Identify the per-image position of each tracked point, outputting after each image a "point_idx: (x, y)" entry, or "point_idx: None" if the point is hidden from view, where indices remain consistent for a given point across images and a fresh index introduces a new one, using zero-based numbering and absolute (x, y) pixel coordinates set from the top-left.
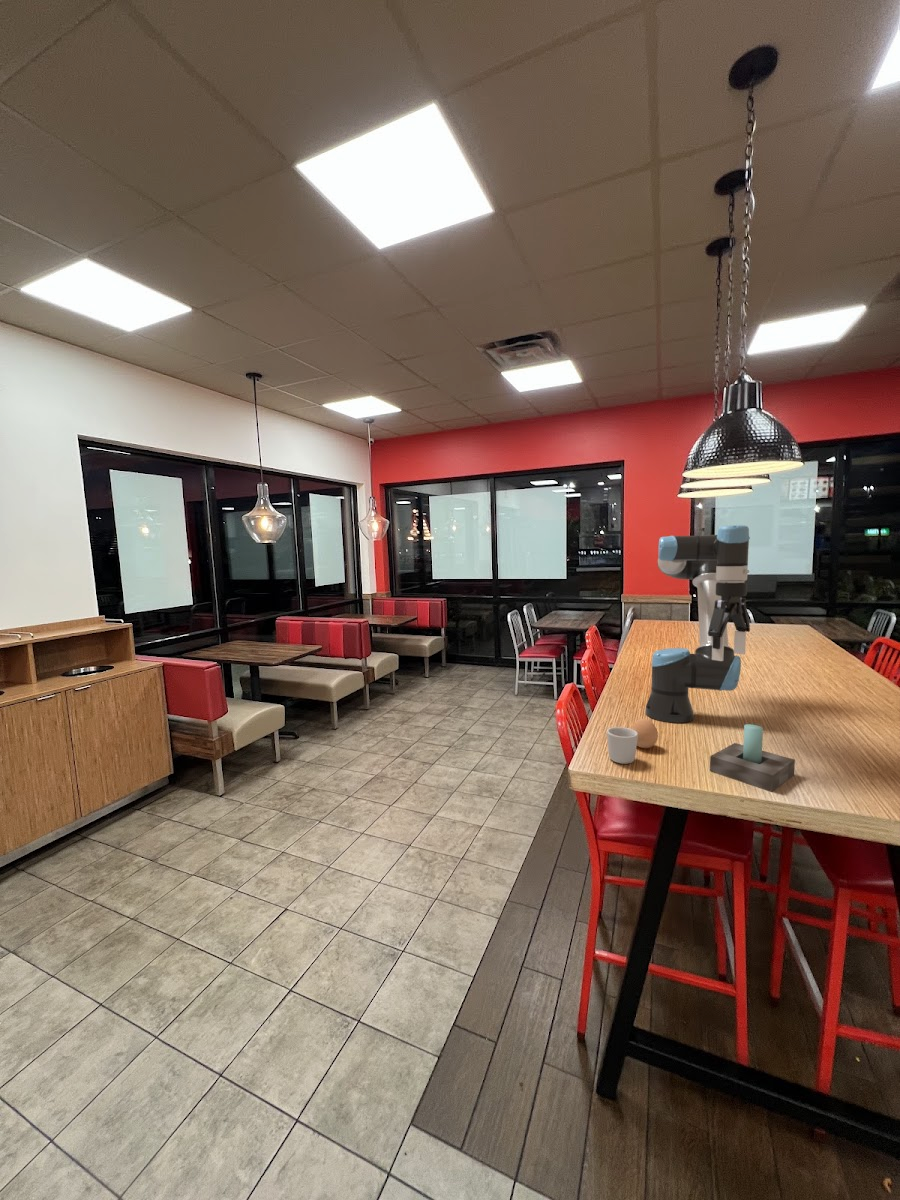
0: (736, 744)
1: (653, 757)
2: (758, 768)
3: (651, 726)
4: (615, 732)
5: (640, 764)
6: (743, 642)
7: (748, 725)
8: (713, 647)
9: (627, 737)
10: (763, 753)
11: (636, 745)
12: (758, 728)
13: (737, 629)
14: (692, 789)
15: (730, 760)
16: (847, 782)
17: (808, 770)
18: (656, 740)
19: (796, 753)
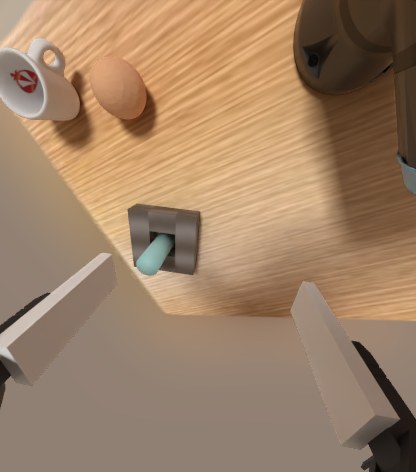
0: (192, 221)
1: (113, 131)
2: (138, 254)
3: (107, 105)
4: (28, 63)
5: (79, 130)
6: (310, 361)
7: (148, 260)
8: (41, 298)
9: (12, 110)
10: (185, 250)
11: (53, 119)
12: (146, 271)
13: (401, 447)
14: (82, 205)
15: (134, 229)
16: (213, 295)
17: (218, 272)
18: (128, 119)
19: (264, 258)
